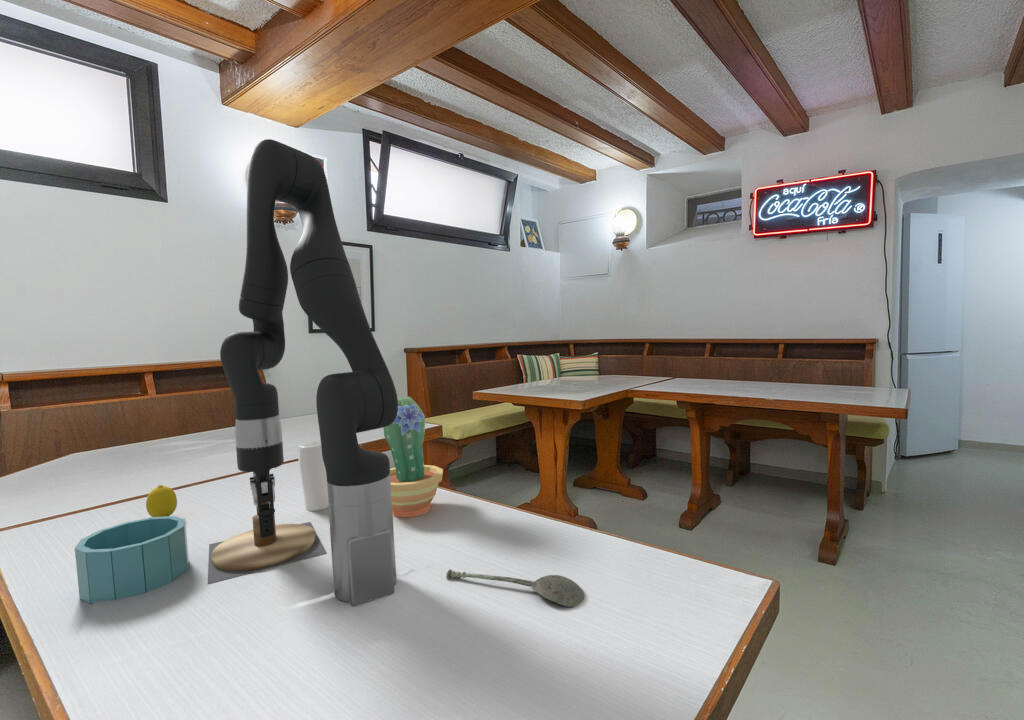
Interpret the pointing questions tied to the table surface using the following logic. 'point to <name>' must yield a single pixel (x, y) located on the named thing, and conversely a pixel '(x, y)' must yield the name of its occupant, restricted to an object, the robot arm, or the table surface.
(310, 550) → the mat
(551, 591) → the soupspoon
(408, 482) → the potted cactus
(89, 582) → the bowl
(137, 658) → the table surface
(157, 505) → the lemon
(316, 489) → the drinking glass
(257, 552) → the lid
